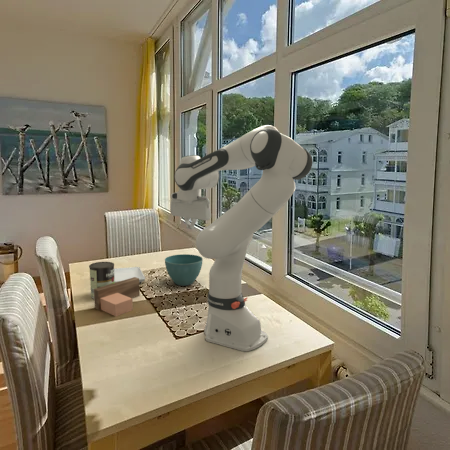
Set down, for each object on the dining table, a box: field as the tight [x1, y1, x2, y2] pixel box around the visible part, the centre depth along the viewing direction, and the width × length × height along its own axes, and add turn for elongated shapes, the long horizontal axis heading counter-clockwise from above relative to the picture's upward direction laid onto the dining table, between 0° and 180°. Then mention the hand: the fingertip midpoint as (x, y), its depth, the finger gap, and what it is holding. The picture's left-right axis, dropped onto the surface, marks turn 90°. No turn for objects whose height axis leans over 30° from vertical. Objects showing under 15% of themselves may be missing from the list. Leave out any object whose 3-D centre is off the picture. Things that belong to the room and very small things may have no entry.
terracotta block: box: [100, 293, 134, 317], centre depth 143 cm, size 10×8×5 cm
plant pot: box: [164, 253, 204, 287], centre depth 175 cm, size 18×18×12 cm
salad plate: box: [114, 266, 146, 284], centre depth 179 cm, size 21×21×3 cm
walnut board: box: [94, 277, 141, 311], centre depth 150 cm, size 3×20×8 cm, turn 142°
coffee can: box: [88, 261, 115, 299], centre depth 157 cm, size 10×10×14 cm
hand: (190, 228), depth 150 cm, fingers closed
